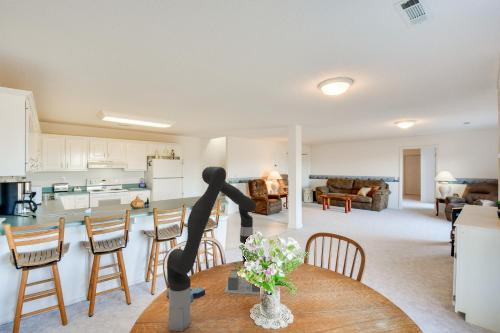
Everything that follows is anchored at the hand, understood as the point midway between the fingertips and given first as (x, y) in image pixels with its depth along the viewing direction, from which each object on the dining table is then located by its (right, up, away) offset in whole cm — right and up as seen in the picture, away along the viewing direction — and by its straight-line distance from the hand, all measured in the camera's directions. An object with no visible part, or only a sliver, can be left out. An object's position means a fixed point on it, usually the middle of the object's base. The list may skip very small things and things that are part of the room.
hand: (245, 261), depth 144 cm
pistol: (-32, -16, -9) cm, 37 cm away
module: (0, -14, 0) cm, 14 cm away
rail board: (0, -15, 0) cm, 15 cm away
